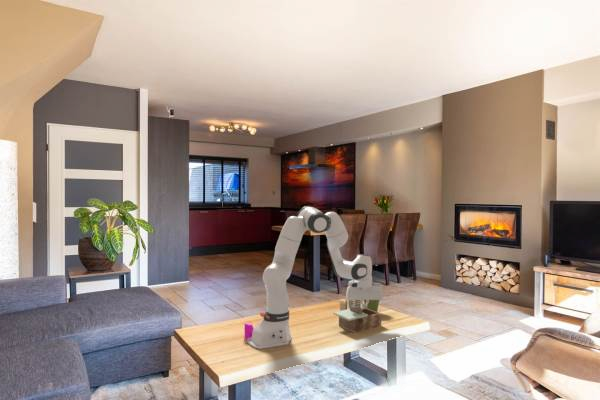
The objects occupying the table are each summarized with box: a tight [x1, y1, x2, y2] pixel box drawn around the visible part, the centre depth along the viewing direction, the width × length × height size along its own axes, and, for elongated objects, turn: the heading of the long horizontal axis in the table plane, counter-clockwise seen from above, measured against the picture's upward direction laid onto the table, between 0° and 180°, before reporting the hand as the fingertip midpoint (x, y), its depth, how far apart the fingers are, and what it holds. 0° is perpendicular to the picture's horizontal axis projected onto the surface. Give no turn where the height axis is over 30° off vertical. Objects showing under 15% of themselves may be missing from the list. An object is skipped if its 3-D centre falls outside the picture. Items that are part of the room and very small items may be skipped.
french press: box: [347, 299, 362, 309], centre depth 239 cm, size 10×12×25 cm
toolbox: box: [338, 307, 382, 334], centre depth 209 cm, size 20×13×7 cm, turn 125°
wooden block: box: [339, 298, 348, 311], centre depth 217 cm, size 3×3×12 cm
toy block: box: [244, 317, 264, 340], centre depth 196 cm, size 15×6×8 cm, turn 135°
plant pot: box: [363, 300, 380, 312], centre depth 233 cm, size 12×12×11 cm
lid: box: [332, 306, 368, 321], centre depth 204 cm, size 13×13×4 cm
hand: (364, 307), depth 209 cm, fingers closed
